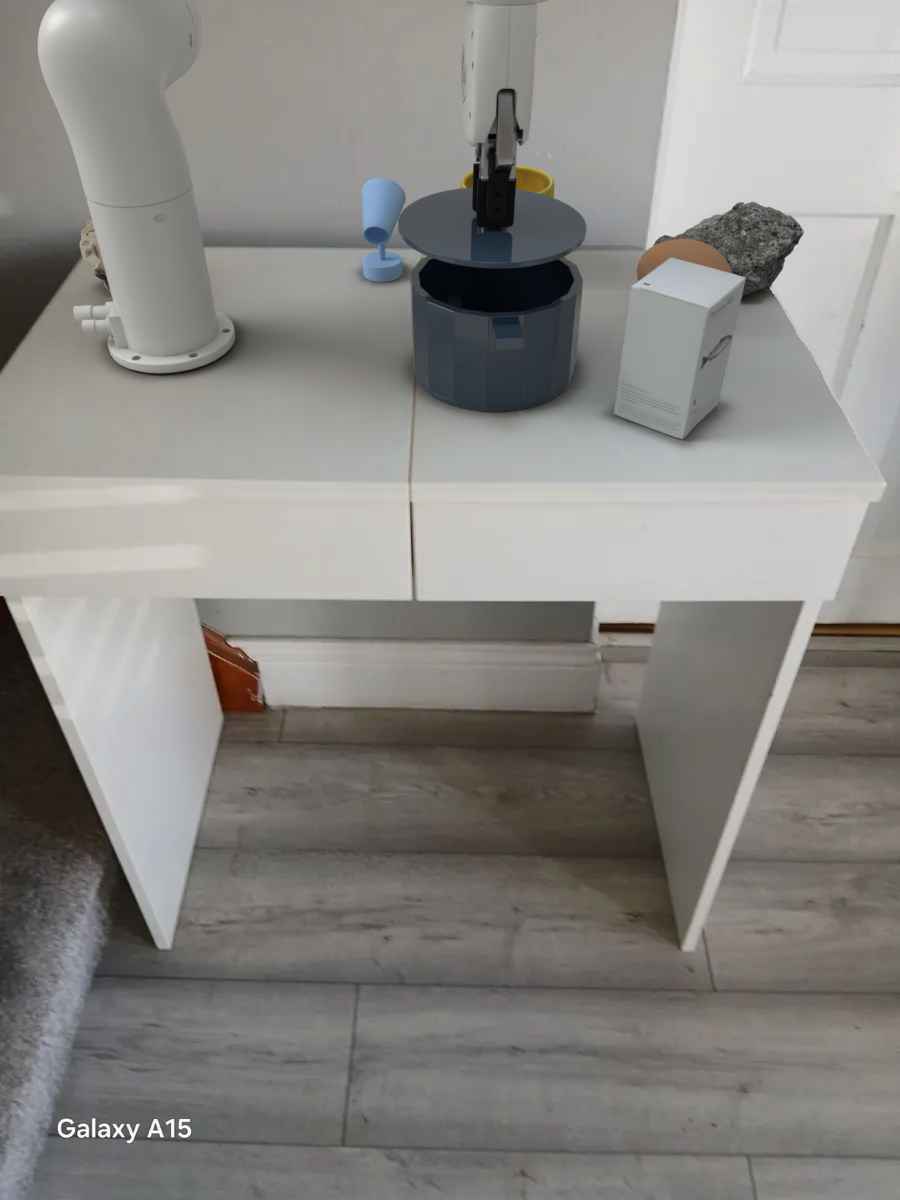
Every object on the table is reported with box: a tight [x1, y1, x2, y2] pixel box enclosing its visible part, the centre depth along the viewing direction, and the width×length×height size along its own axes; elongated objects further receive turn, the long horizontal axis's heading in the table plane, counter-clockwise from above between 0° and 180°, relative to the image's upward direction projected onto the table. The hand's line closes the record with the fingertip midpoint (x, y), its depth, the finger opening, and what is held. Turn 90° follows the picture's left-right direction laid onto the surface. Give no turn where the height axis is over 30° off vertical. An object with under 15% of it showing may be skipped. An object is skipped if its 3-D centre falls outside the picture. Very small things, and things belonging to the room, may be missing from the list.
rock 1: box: [79, 215, 111, 294], centre depth 107 cm, size 9×7×10 cm
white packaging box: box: [612, 258, 746, 440], centre depth 84 cm, size 7×7×13 cm
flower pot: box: [459, 164, 555, 198], centre depth 108 cm, size 10×10×10 cm
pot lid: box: [397, 152, 588, 268], centre depth 83 cm, size 17×17×7 cm
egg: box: [636, 238, 732, 282], centre depth 101 cm, size 8×8×11 cm
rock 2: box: [652, 201, 805, 297], centre depth 107 cm, size 13×13×10 cm
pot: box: [409, 255, 584, 413], centre depth 91 cm, size 16×21×10 cm
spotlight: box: [361, 177, 407, 283], centre depth 107 cm, size 5×10×7 cm
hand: (492, 216), depth 84 cm, fingers closed on pot lid, 2 cm apart
